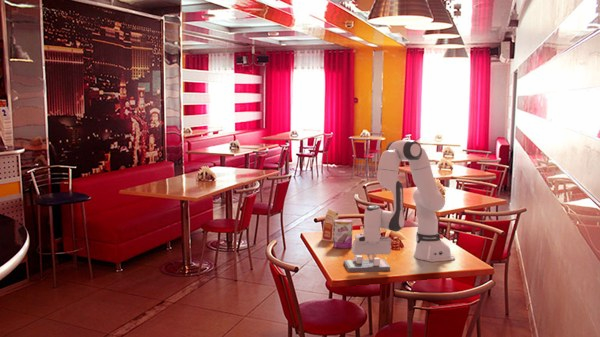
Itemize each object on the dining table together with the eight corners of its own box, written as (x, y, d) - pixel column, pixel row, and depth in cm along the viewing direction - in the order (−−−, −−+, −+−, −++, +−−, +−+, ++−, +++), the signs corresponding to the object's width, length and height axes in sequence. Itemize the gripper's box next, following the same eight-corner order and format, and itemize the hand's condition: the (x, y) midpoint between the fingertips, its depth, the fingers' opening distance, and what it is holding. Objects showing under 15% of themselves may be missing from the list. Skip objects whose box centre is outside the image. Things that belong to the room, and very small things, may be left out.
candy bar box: (333, 248, 319) (333, 221, 317) (333, 245, 324) (334, 219, 322) (352, 248, 318) (352, 222, 316) (352, 246, 323) (352, 220, 321)
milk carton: (321, 239, 338) (321, 209, 336) (329, 236, 346) (329, 206, 343) (333, 242, 333) (334, 210, 331) (341, 238, 341) (341, 208, 338)
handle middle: (361, 262, 284) (361, 255, 283) (362, 263, 281) (362, 256, 281) (356, 262, 283) (356, 255, 283) (356, 263, 281) (357, 256, 281)
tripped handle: (378, 264, 280) (378, 257, 280) (379, 265, 278) (379, 258, 277) (373, 264, 280) (373, 257, 279) (374, 265, 277) (374, 259, 277)
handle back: (359, 259, 288) (359, 253, 288) (360, 260, 286) (360, 254, 285) (354, 259, 288) (354, 253, 287) (355, 261, 285) (355, 254, 285)
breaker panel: (383, 262, 291) (383, 258, 291) (390, 270, 277) (390, 266, 277) (343, 263, 289) (343, 259, 289) (348, 271, 275) (348, 267, 275)
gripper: (389, 235, 281) (389, 260, 282) (351, 235, 279) (351, 260, 281) (393, 238, 274) (392, 264, 276) (354, 238, 273) (353, 264, 274)
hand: (371, 262), depth 278 cm, fingers closed
